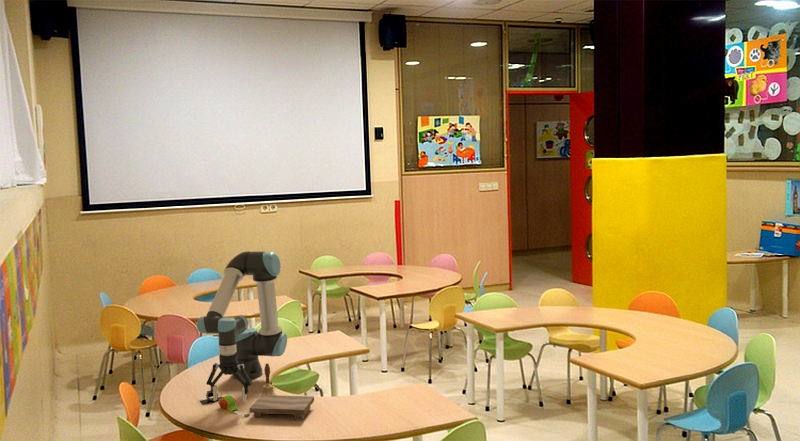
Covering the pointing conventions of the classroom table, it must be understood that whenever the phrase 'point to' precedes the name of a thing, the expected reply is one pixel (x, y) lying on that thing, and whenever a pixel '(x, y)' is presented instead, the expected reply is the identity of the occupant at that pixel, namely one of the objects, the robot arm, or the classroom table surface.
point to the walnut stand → (282, 405)
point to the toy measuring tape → (230, 405)
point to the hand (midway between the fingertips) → (230, 400)
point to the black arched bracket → (209, 400)
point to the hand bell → (267, 383)
